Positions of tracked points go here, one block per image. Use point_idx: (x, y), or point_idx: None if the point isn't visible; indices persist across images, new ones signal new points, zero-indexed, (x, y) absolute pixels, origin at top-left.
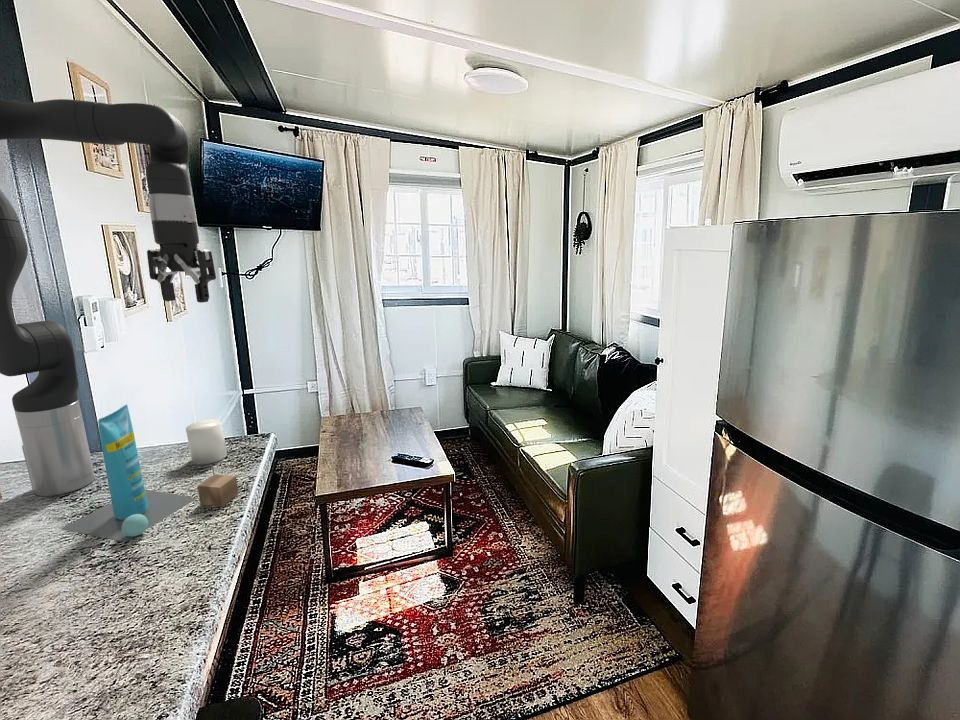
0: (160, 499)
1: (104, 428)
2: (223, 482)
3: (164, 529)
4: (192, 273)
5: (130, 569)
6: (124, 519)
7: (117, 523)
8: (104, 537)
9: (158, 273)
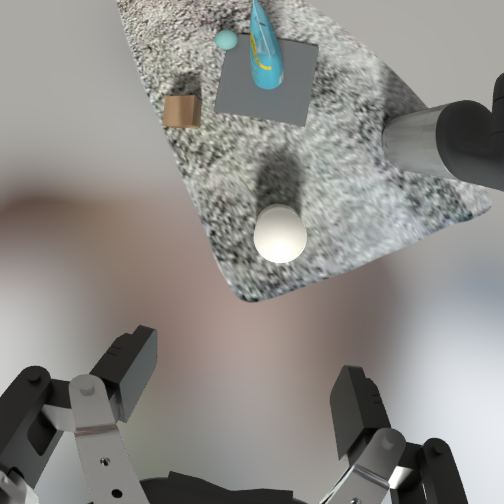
0: (257, 103)
1: (252, 7)
2: (168, 108)
3: (212, 60)
4: (88, 427)
5: (199, 13)
6: None
7: None
8: None
9: (416, 484)
